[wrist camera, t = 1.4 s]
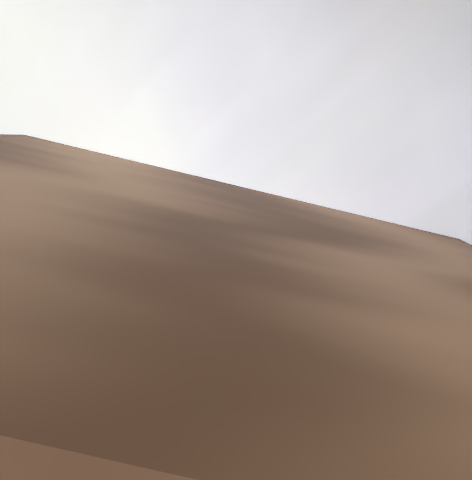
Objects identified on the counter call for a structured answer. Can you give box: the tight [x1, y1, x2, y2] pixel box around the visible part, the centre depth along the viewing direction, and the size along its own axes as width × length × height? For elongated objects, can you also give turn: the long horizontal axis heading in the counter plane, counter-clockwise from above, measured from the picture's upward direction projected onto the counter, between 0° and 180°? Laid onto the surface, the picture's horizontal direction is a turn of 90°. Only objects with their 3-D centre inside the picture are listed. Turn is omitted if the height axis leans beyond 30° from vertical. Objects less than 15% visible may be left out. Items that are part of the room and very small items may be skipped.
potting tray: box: [0, 135, 472, 480], centre depth 8 cm, size 15×15×9 cm
